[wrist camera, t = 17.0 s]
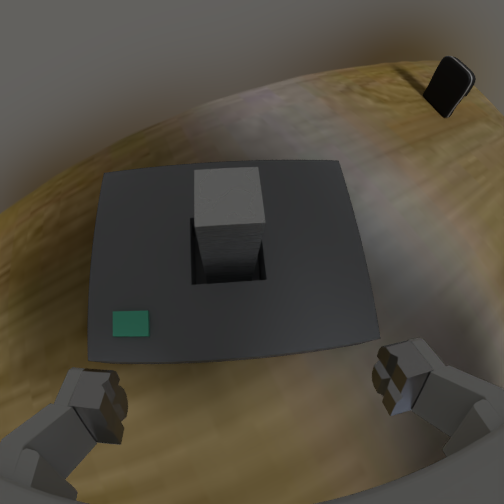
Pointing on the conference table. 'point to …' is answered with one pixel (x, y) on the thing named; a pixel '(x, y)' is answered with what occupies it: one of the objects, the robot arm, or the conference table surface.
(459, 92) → the battery charger
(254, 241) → the peg
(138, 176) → the docking mount
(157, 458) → the conference table surface
